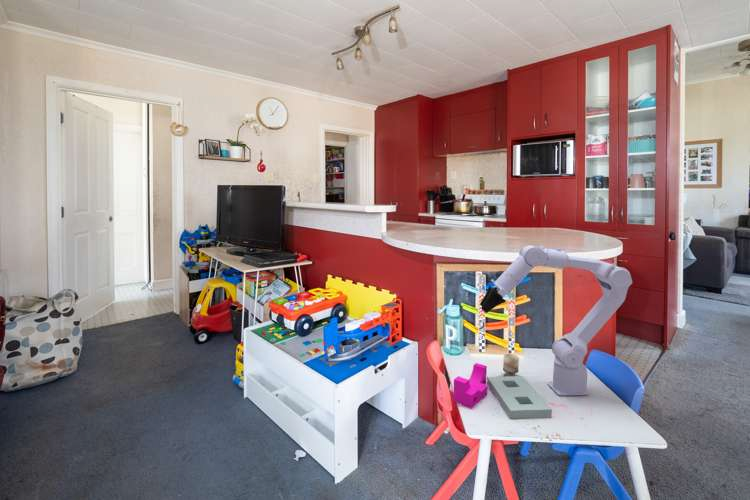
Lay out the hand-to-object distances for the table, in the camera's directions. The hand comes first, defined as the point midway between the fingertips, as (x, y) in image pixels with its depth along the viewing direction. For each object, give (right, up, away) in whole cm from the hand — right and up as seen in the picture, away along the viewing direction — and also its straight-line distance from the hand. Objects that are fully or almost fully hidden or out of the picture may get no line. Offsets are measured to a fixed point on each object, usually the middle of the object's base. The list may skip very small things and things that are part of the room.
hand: (482, 308), depth 122 cm
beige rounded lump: (+13, -25, +11) cm, 31 cm away
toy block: (-3, -28, -1) cm, 28 cm away
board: (+10, -28, -4) cm, 30 cm away
